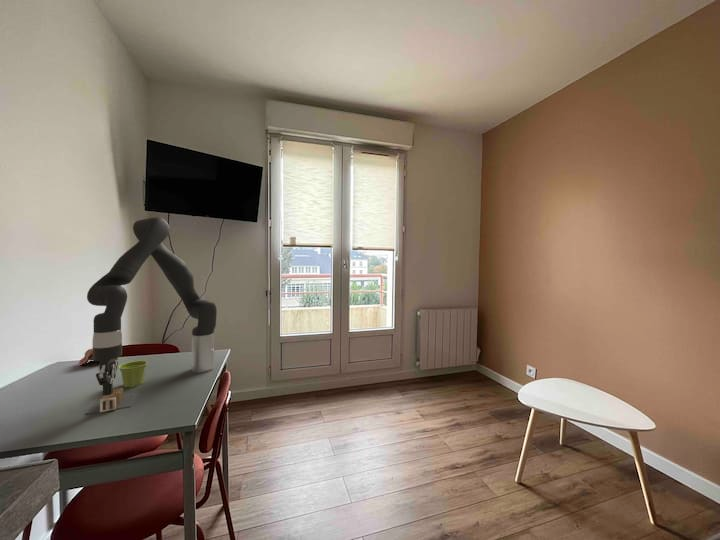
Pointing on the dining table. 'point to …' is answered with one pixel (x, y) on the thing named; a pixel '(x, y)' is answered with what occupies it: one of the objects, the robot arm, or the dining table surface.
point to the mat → (125, 403)
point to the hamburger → (87, 357)
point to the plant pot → (133, 373)
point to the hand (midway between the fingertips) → (107, 394)
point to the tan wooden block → (111, 400)
